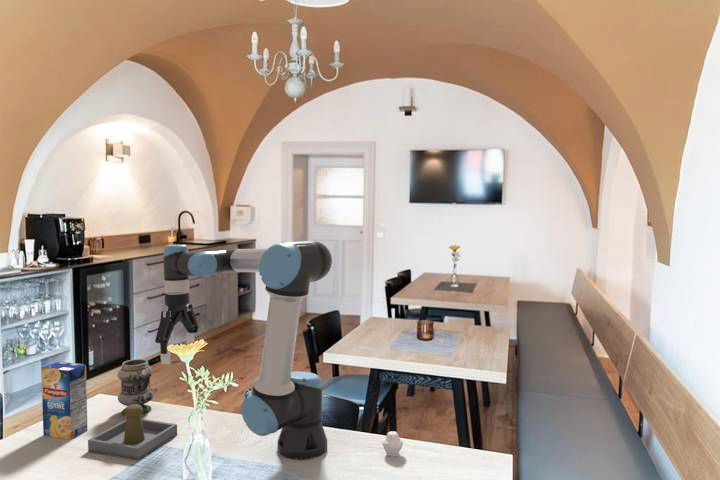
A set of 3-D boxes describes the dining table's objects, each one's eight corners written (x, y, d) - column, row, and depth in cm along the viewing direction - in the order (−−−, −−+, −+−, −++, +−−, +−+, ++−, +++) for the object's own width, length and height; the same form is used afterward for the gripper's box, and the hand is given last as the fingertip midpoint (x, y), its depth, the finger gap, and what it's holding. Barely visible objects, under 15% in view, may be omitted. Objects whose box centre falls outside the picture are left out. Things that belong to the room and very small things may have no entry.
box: (177, 434, 170) (177, 424, 170) (138, 460, 153) (137, 448, 152) (131, 427, 175) (130, 417, 175) (88, 451, 158) (87, 439, 158)
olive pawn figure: (137, 445, 160) (136, 410, 160) (119, 443, 162) (118, 408, 161) (148, 437, 166) (148, 402, 166) (131, 435, 167) (130, 401, 167)
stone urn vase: (135, 403, 197) (134, 355, 196) (161, 407, 193) (161, 358, 192) (110, 415, 185) (109, 364, 184) (137, 420, 181) (136, 368, 180)
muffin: (400, 460, 154) (400, 437, 153) (379, 457, 156) (380, 434, 155) (404, 451, 160) (405, 428, 159) (385, 448, 162) (385, 425, 161)
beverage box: (71, 439, 166) (69, 370, 165) (43, 435, 169) (41, 367, 168) (87, 430, 173) (86, 364, 171) (60, 426, 176) (58, 361, 174)
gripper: (188, 286, 183) (190, 347, 184) (141, 298, 159) (143, 367, 160) (208, 287, 181) (209, 348, 182) (163, 299, 157) (165, 369, 158)
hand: (178, 357), depth 171 cm, fingers open, 13 cm apart
